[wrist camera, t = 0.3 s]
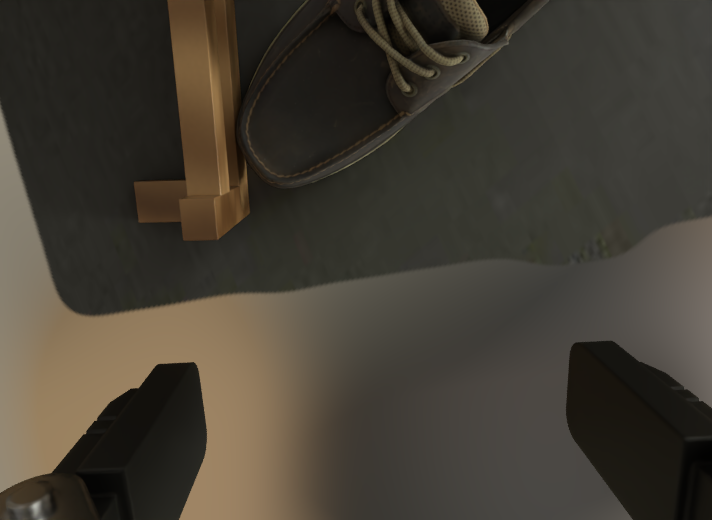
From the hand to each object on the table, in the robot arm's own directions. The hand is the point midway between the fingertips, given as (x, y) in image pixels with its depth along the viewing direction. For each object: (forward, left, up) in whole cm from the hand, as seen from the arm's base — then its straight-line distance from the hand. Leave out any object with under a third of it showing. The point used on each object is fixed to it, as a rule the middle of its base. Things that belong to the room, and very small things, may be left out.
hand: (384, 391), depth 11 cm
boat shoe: (-13, +4, -29) cm, 32 cm away
